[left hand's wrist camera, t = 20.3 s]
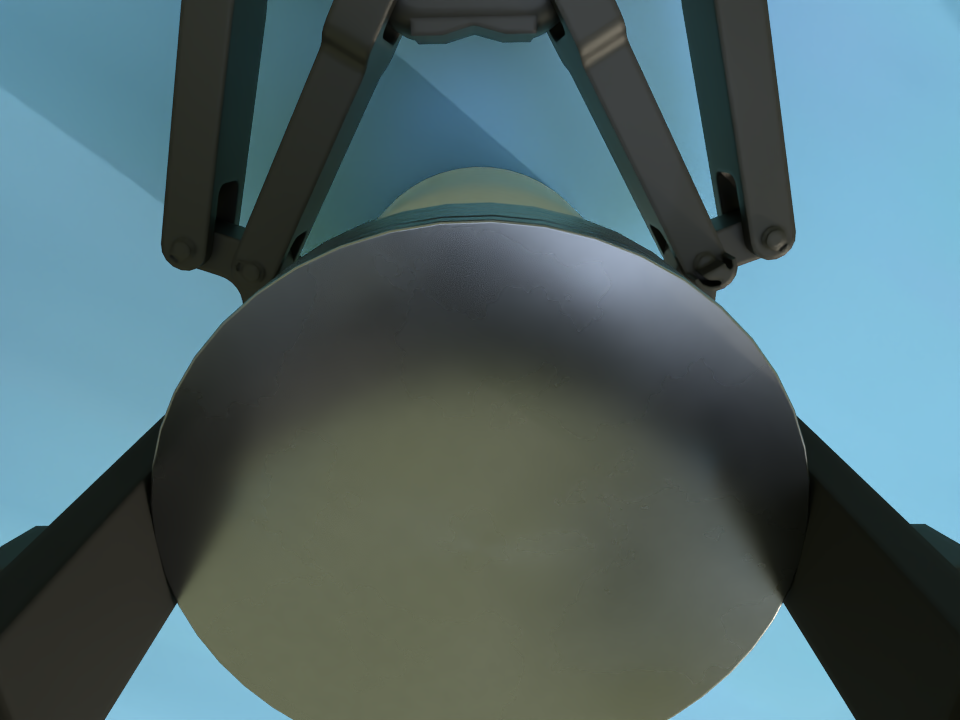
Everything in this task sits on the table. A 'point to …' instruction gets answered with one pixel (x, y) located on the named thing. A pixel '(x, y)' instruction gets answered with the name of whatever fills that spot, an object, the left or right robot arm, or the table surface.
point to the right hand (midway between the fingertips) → (482, 467)
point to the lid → (480, 478)
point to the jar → (479, 191)
